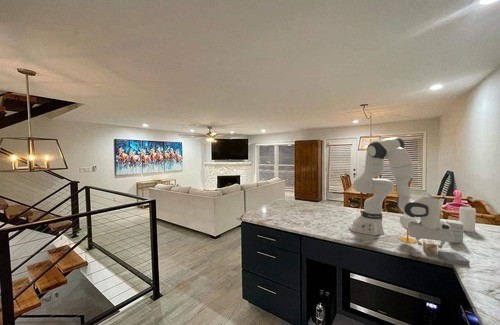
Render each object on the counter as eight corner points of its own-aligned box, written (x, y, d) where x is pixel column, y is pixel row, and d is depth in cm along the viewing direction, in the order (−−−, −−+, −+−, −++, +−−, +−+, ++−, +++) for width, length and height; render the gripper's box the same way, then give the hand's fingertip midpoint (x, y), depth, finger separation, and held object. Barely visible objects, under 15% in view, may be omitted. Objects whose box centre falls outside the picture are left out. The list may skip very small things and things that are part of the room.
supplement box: (445, 237, 141) (446, 218, 140) (461, 240, 136) (462, 221, 135) (446, 241, 135) (447, 222, 134) (463, 244, 130) (463, 224, 129)
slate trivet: (448, 264, 109) (448, 259, 109) (437, 256, 118) (437, 250, 117) (469, 266, 107) (469, 260, 106) (456, 257, 115) (457, 252, 115)
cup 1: (399, 241, 136) (399, 217, 135) (398, 236, 144) (399, 213, 143) (417, 244, 131) (417, 219, 130) (415, 239, 139) (416, 215, 138)
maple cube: (426, 251, 122) (426, 243, 122) (423, 248, 126) (423, 240, 126) (437, 253, 120) (437, 244, 120) (433, 249, 124) (433, 241, 124)
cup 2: (462, 230, 150) (463, 209, 150) (456, 226, 158) (457, 206, 157) (477, 232, 148) (478, 210, 147) (470, 228, 155) (471, 206, 154)
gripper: (409, 222, 123) (409, 245, 124) (455, 227, 114) (454, 252, 115) (406, 219, 129) (406, 241, 129) (450, 223, 120) (450, 247, 120)
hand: (429, 246), depth 122 cm, fingers open, 8 cm apart
